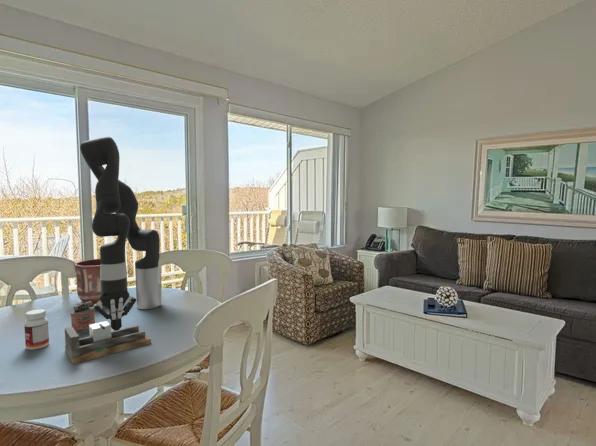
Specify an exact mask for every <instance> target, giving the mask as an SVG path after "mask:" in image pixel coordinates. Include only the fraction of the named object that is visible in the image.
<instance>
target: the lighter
mask: <svg viewBox="0 0 596 446" xmlns="http://www.w3.org/2000/svg"><path fill="white" fill-rule="evenodd" d="M73 309H74V311H71V312H70V313H69V315H70V317H71V320H70V321H71V327H73V329H74V330H75V331H76V333H77V334H78V335H80V334H84V333H86V332H87V333H88V332H89V325H91V324H95V323H96V319H95V318H96V317H95V311H96V309H94V308H93V305H92V301H90V302H86V303H84V302H80V303H78V304H77V305H73Z"/></svg>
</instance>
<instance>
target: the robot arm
mask: <svg viewBox="0 0 596 446" xmlns="http://www.w3.org/2000/svg"><path fill="white" fill-rule="evenodd" d="M79 148H80V152H81V156H82V158H83V159H84V160H85V162H86V164H87V166H88V167H89V169H90V170H91V172H92V174H93V176H95V178H96V180H97V182H96V185H95V190H94V191H95V192H94V193H95V196H94V197H95V204H96V205H95V206H96V207H95V213H94V216H93V219H92V223H91V230H92V232H93V234H94V235H95V236H96V237H101V238H103V237H105V238H106V237H114V236H115V237H117V238H116V239H115V240H114V241H112V242H109V243H105V244H102V245H101V246H100V248H99V254H100V256H99V257H100V258H99V259H100V261H101V267H100V279H101V297H100V301H99V302H97V303H96V304H94V305H92V307H93V308H94V309H95V311H97V312H98V313H99V314H100V315H101V316H103V318H104V319H106V320H110V325H111V330H112V331H117V330H120V329H122V327H123V326H122V325H123V324H122V318H123V317H124V316H127V315H128V313H129V312H130V311H131V309H133V306H134V305H135V303H136V308H137V309H139V310H151V309H156V308H158V307H160V306H162V305H163V303H162V284H161V283H160V273H159V271H160V270H159V268H160V267H159V263H160V262H159V261H160V252H161V251H160V249H161V248H160V247H161V246H160V245H161V243H160V242H161V241H160V240H161V239H160V235H159V233H158V230H155V229H147V228H146V229H143V228H142V229H141V228H140V227H139V225H138V223H137V220H136V217H137V214H138V210H139V202H138V199H137V198H136V196H135V193H134V190H133V189H132V187H130V186H129V185H127V183H125V182H123V181H122V180H120V179H119V176H120V160H121V159H120V152H119V148H118V145H117V142H116V141H115V140H114V139H113V138H112V137H111V136H102V137H97V138H94V139H89V140H85V141H83V142H81V143H80V145H79ZM104 166H105V167H104ZM127 241H128V244H129V246H130V247H131V248H132V249H133V250H134V251H137V252H145V253H144V254H145V255H144V256H143V257H142V258H139V259H137V260H136V261H135V262H134V267H135V268H134V272H135V276H134V277H135V293H136V294H135V296H136V298H135V297H133V296H131V295H130V293H129V291H128V271H127V269H128V268H127V264H126V244H127ZM102 303H103V304H102ZM103 305H104V307H106V308H107V309H108V313H107V312H106V311H105V310H103Z"/></svg>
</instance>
